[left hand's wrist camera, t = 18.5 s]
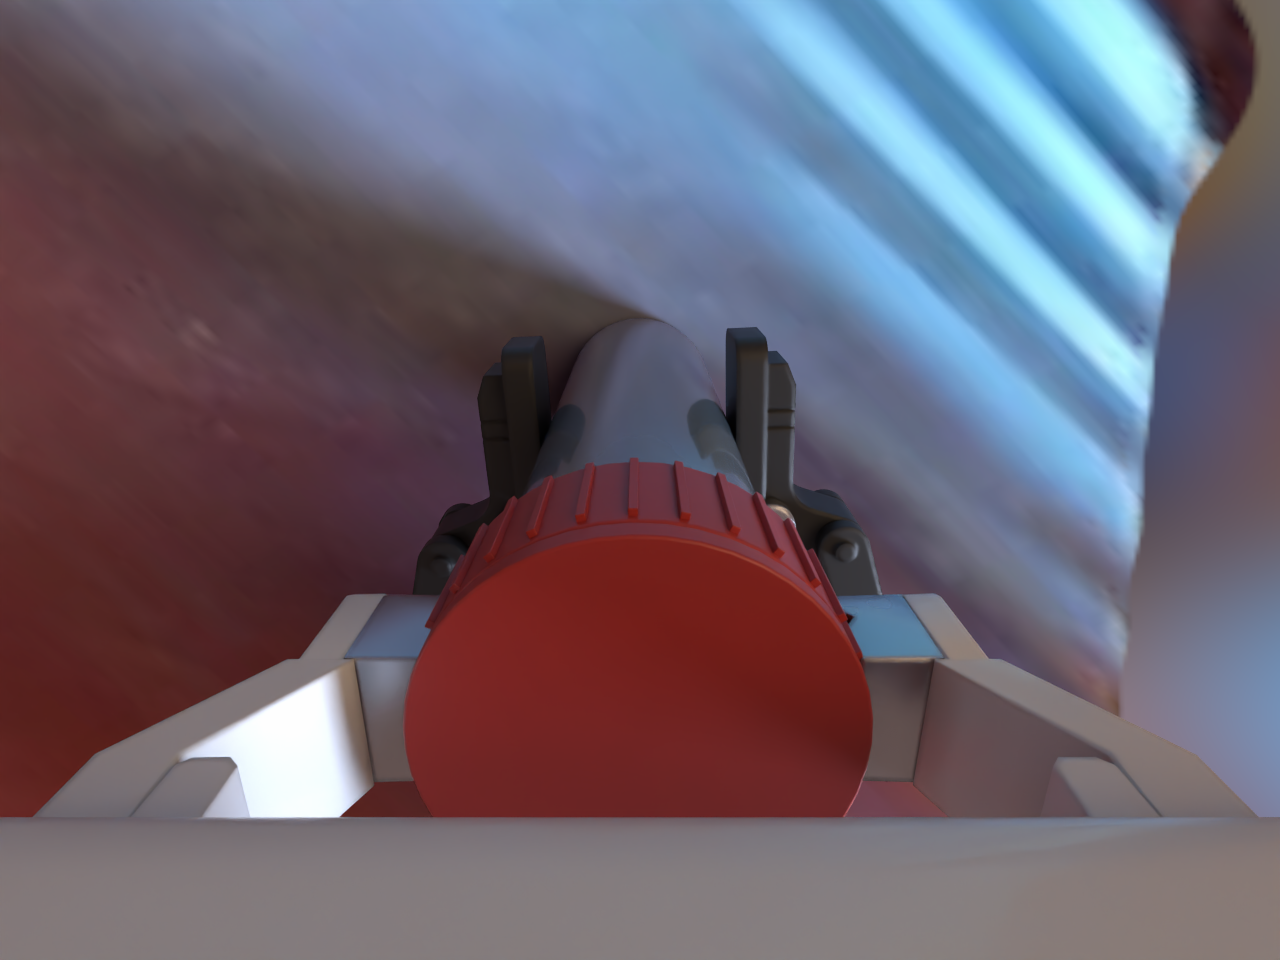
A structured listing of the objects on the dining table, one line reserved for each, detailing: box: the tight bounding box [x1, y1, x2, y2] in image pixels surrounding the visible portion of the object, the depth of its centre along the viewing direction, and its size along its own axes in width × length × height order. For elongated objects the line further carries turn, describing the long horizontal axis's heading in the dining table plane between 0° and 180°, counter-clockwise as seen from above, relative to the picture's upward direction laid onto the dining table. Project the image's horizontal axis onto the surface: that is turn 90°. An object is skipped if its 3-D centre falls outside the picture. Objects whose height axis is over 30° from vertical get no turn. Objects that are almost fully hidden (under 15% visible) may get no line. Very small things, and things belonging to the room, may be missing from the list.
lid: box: [403, 458, 873, 817], centre depth 9 cm, size 5×5×2 cm
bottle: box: [522, 318, 755, 496], centre depth 16 cm, size 4×4×16 cm
